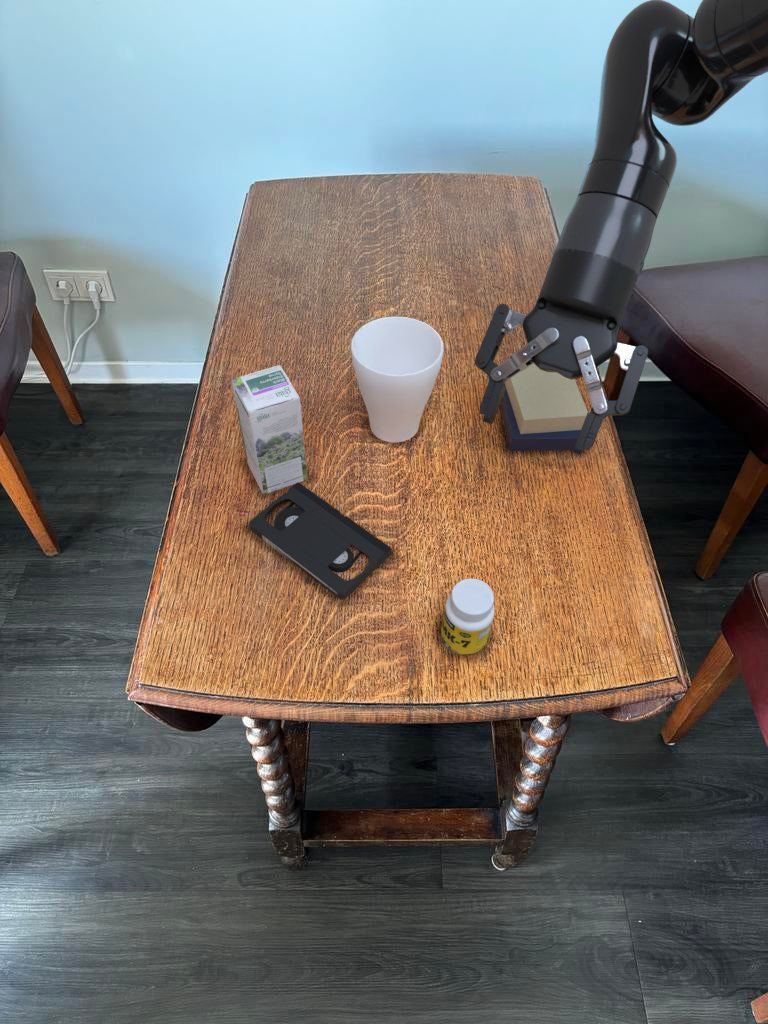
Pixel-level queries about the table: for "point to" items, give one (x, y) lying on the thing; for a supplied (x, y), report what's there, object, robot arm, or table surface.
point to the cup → (396, 373)
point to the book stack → (542, 411)
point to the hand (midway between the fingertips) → (531, 438)
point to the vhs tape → (319, 540)
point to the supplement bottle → (468, 617)
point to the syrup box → (271, 428)
